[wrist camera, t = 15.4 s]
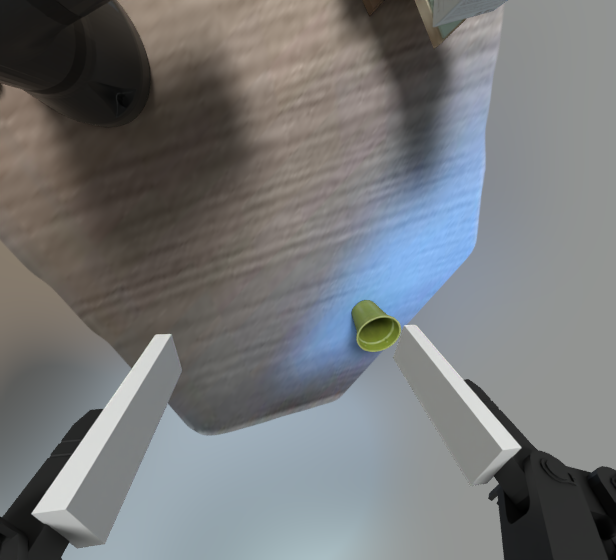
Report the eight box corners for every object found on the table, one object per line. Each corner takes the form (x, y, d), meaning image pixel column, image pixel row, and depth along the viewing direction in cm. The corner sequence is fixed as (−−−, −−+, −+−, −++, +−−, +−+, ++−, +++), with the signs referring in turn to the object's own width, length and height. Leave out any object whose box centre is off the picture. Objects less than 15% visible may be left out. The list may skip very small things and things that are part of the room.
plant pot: (383, 290, 50) (402, 312, 43) (382, 322, 55) (399, 347, 47) (344, 297, 50) (356, 321, 42) (346, 329, 55) (357, 355, 47)
